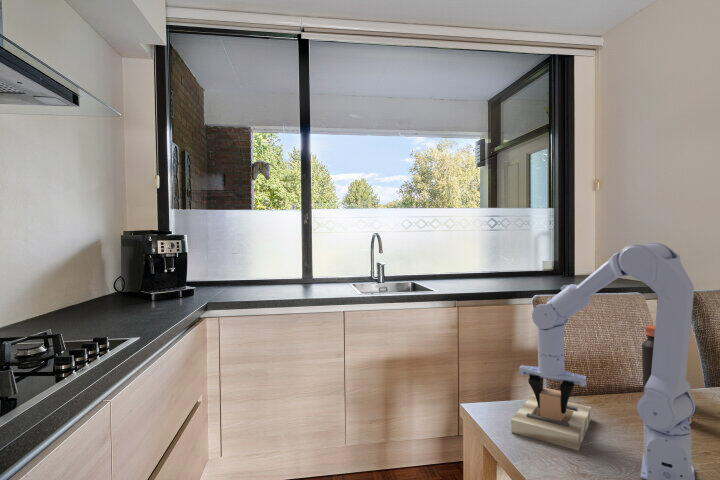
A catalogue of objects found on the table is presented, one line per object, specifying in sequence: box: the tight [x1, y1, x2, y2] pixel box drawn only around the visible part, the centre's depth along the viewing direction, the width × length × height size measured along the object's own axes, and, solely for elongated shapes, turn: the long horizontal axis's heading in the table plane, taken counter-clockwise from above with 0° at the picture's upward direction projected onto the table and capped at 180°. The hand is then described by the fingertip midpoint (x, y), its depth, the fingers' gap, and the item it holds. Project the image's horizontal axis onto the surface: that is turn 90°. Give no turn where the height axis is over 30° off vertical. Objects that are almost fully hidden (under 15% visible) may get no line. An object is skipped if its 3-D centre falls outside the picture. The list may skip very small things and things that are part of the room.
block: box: [539, 387, 565, 421], centre depth 96 cm, size 4×4×6 cm
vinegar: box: [641, 324, 655, 395], centre depth 109 cm, size 7×7×20 cm
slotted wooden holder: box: [510, 394, 592, 451], centre depth 96 cm, size 18×14×4 cm
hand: (552, 409), depth 96 cm, fingers closed on block, 4 cm apart
